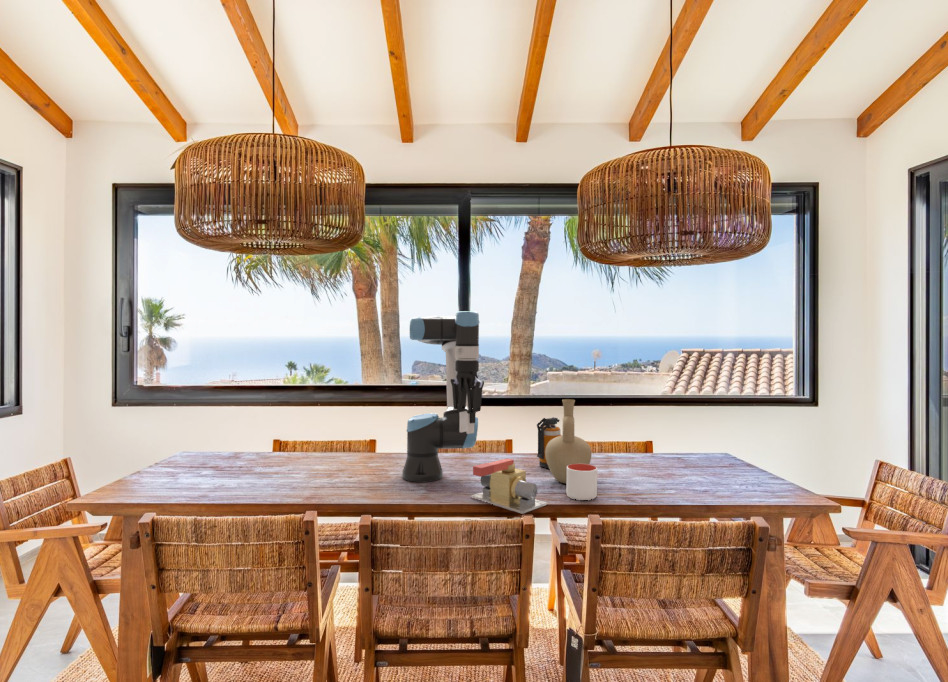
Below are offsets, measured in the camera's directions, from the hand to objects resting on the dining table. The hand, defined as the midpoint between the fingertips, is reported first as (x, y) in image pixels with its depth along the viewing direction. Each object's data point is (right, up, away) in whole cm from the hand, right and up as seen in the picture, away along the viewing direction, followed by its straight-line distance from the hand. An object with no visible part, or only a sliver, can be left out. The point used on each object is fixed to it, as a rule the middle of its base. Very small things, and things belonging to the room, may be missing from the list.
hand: (466, 432), depth 177 cm
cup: (+38, -23, +6) cm, 45 cm away
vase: (+37, -22, +25) cm, 49 cm away
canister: (+32, -22, +46) cm, 60 cm away
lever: (+9, -12, -3) cm, 16 cm away
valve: (+13, -23, +1) cm, 26 cm away
